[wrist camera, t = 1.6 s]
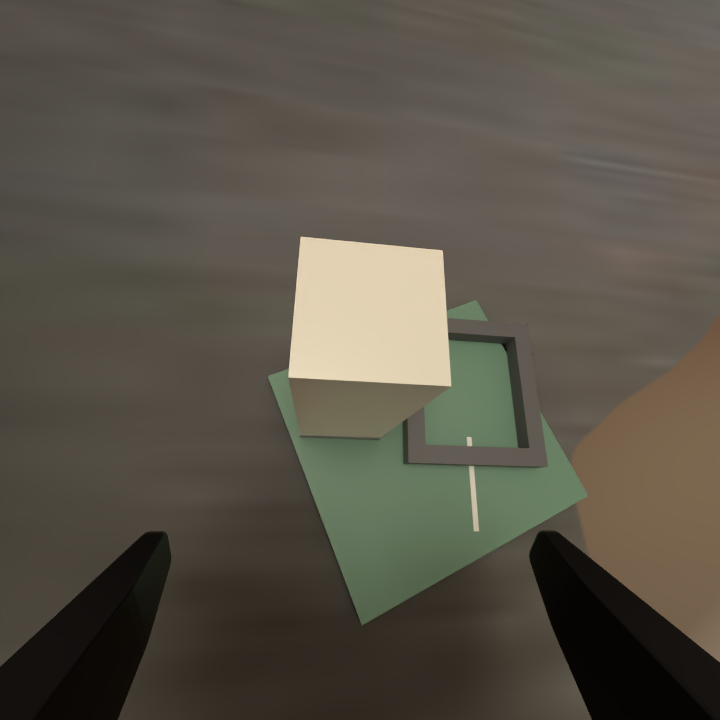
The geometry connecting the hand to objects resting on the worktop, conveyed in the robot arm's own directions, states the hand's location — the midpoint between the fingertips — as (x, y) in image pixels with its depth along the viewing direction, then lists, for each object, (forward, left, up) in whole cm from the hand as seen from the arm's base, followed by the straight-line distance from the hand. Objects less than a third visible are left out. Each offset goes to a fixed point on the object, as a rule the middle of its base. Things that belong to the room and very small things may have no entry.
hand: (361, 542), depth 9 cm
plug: (+6, -3, -12) cm, 13 cm away
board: (+2, -8, -13) cm, 15 cm away
